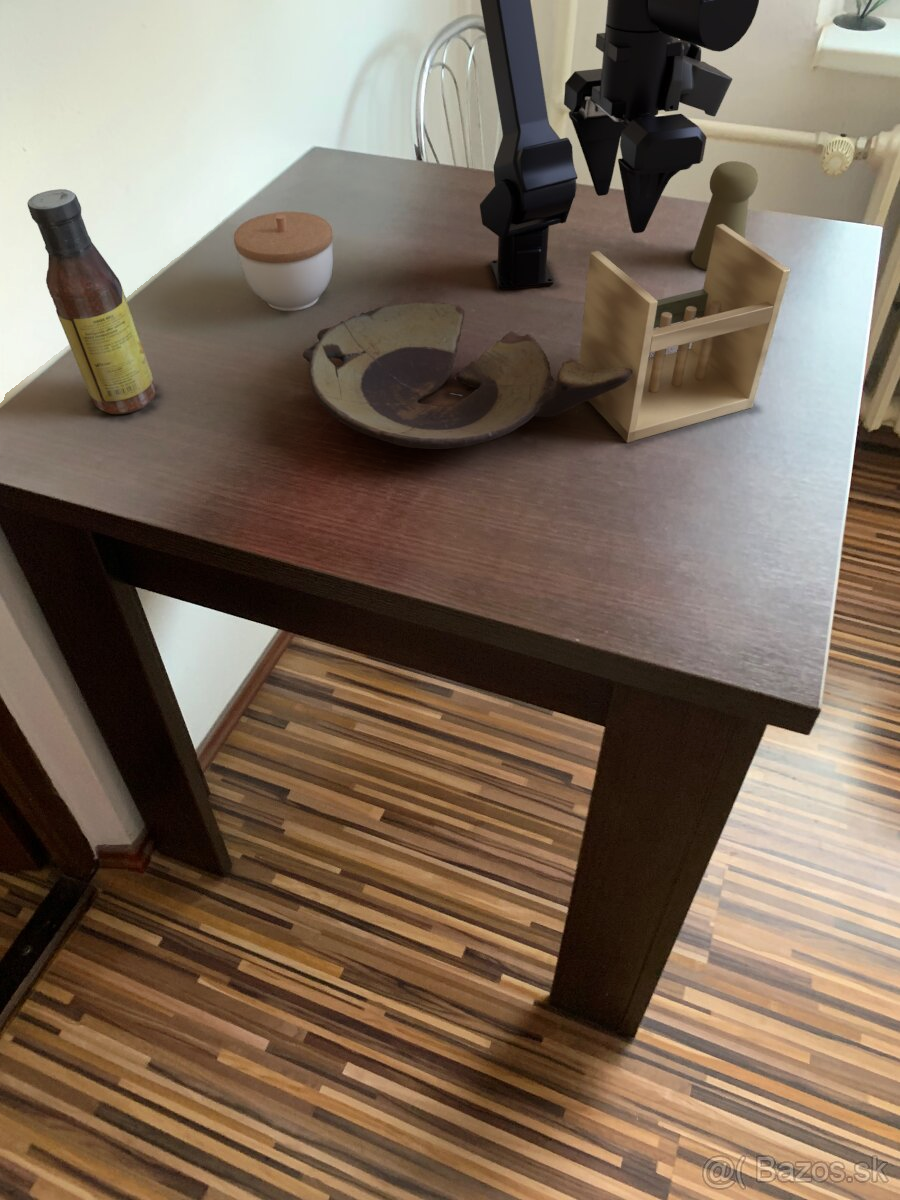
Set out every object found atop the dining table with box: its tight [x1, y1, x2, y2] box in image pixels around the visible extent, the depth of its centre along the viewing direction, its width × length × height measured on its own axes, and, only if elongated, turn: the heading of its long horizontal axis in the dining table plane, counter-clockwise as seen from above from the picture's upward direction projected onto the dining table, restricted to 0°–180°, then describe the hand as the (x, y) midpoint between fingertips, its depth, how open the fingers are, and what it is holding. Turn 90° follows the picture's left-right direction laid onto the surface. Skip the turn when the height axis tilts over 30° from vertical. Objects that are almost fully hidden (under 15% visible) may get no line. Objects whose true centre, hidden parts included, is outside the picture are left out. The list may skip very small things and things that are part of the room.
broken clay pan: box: [302, 301, 632, 450], centre depth 83 cm, size 22×30×8 cm
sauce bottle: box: [27, 188, 156, 415], centre depth 81 cm, size 7×6×20 cm
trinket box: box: [233, 211, 334, 312], centre depth 98 cm, size 11×11×9 cm
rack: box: [578, 224, 791, 444], centre depth 82 cm, size 10×14×14 cm
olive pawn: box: [691, 160, 759, 271], centre depth 103 cm, size 6×6×11 cm
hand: (619, 212), depth 85 cm, fingers open, 9 cm apart
